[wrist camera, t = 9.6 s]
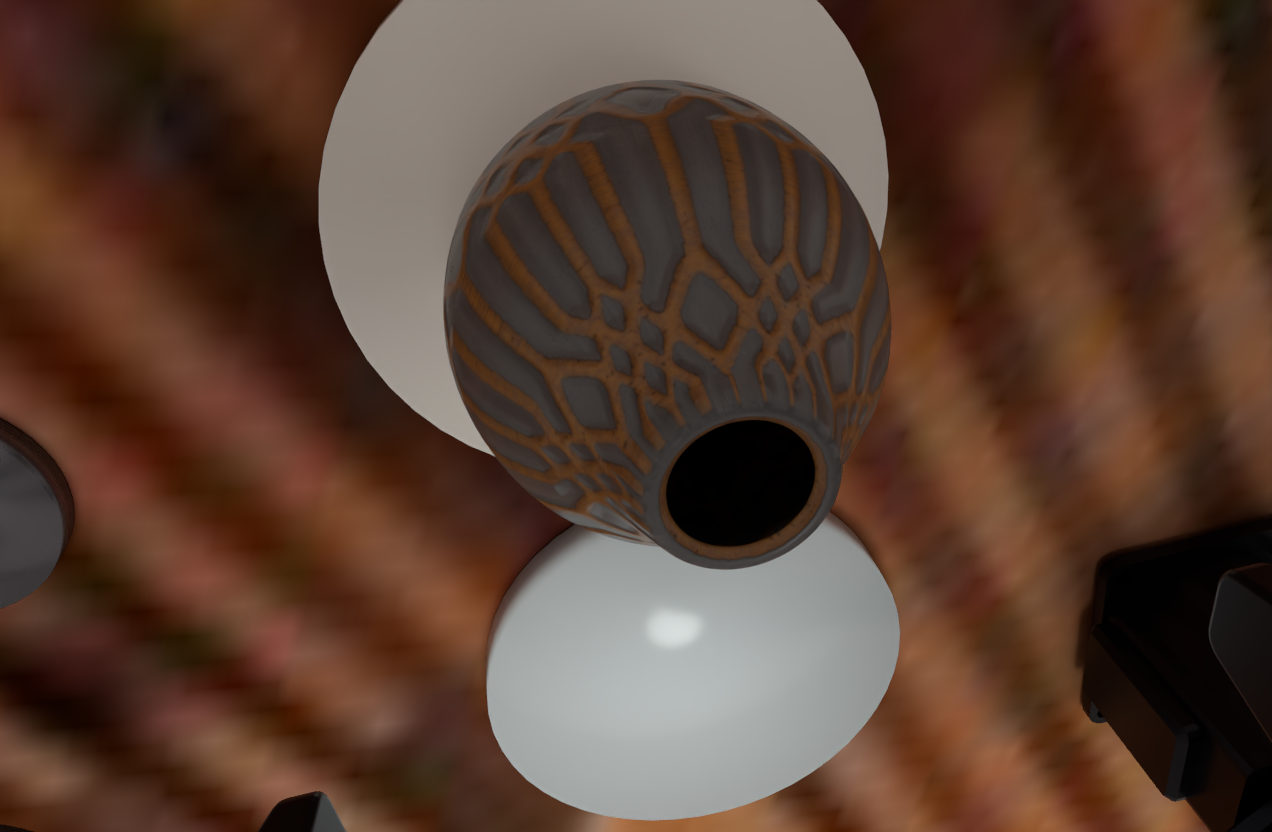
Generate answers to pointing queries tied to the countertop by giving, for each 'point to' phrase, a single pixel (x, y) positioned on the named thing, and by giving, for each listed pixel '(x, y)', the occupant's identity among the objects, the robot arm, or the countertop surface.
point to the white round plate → (685, 671)
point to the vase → (669, 320)
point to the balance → (29, 519)
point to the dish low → (507, 102)
